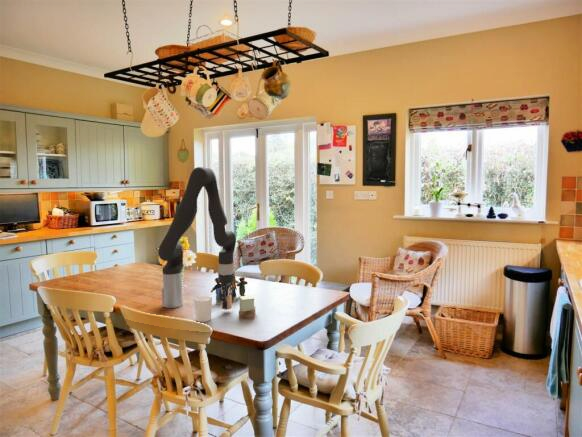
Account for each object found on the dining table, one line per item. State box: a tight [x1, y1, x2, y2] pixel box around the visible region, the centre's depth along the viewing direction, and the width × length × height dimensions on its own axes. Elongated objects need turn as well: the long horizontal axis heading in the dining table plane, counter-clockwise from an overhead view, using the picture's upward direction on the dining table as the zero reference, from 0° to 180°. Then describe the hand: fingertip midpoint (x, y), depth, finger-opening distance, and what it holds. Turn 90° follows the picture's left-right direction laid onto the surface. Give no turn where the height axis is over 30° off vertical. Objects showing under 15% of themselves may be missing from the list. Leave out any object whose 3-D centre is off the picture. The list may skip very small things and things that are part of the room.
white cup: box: [193, 295, 213, 323], centre depth 192 cm, size 8×8×10 cm
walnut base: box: [238, 305, 256, 320], centre depth 195 cm, size 7×7×4 cm
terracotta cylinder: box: [221, 295, 233, 310], centre depth 201 cm, size 5×5×6 cm
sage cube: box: [238, 294, 255, 311], centre depth 194 cm, size 6×6×6 cm
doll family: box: [210, 275, 248, 305], centre depth 221 cm, size 23×9×13 cm, turn 152°
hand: (226, 306), depth 201 cm, fingers closed on terracotta cylinder, 4 cm apart
